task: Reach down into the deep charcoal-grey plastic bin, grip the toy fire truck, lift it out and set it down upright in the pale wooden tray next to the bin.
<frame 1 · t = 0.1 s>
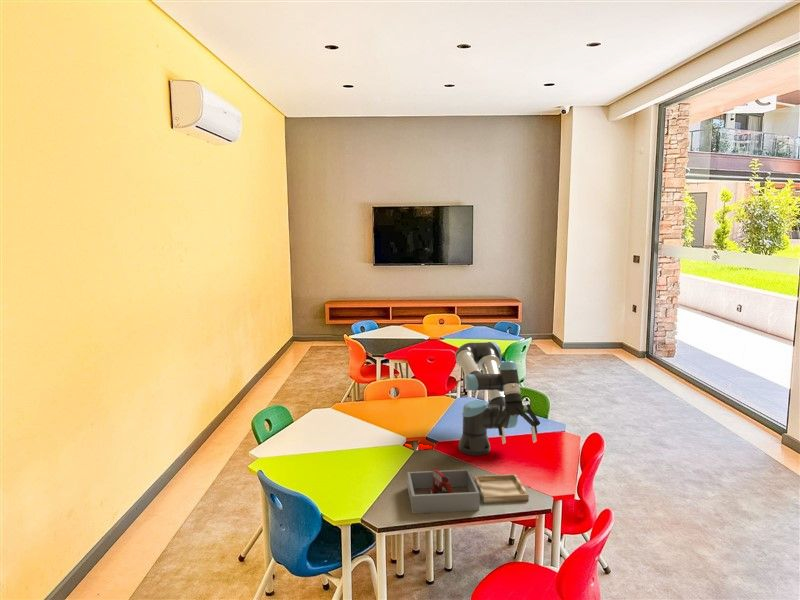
hand: (519, 442, 238), 15 cm above the table, tool tilted 35°, fingers open, 13 cm apart
bin: (441, 498, 221), on the table
toy fire truck: (441, 499, 221), resting in bin
tray: (500, 490, 227), on the table
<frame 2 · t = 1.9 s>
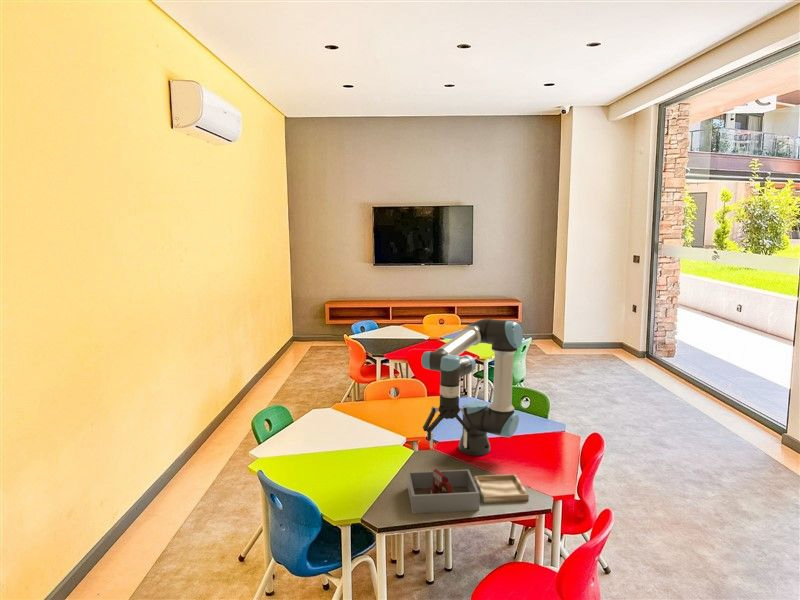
hand: (448, 447, 218), 22 cm above the table, tool pointing down, fingers open, 13 cm apart
nothing on the table moved.
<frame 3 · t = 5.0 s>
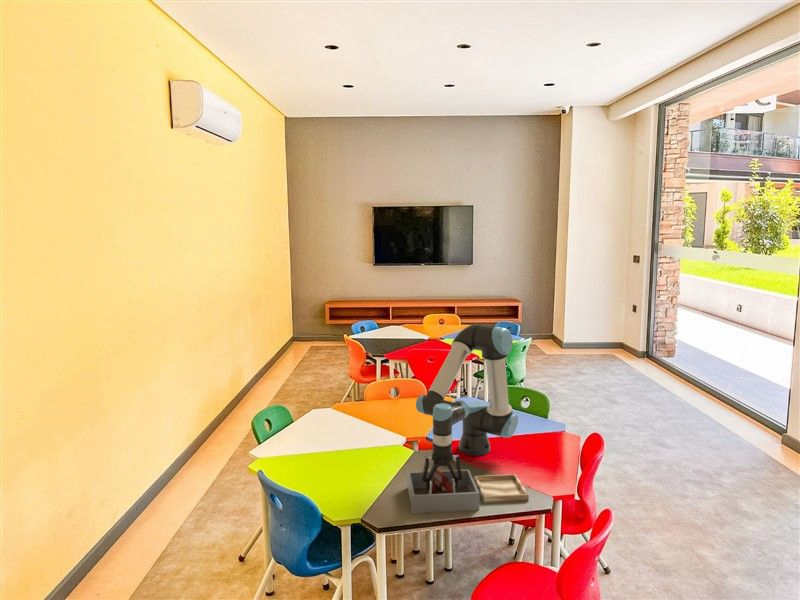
hand: (441, 496, 221), 1 cm above the table, tool pointing down, fingers closed on toy fire truck, 9 cm apart
toy fire truck: (441, 499, 221), resting in bin, touching gripper
when the fingers open (4 cm above the table, at t = 11.0 s): toy fire truck drops 2 cm, resting on tray.
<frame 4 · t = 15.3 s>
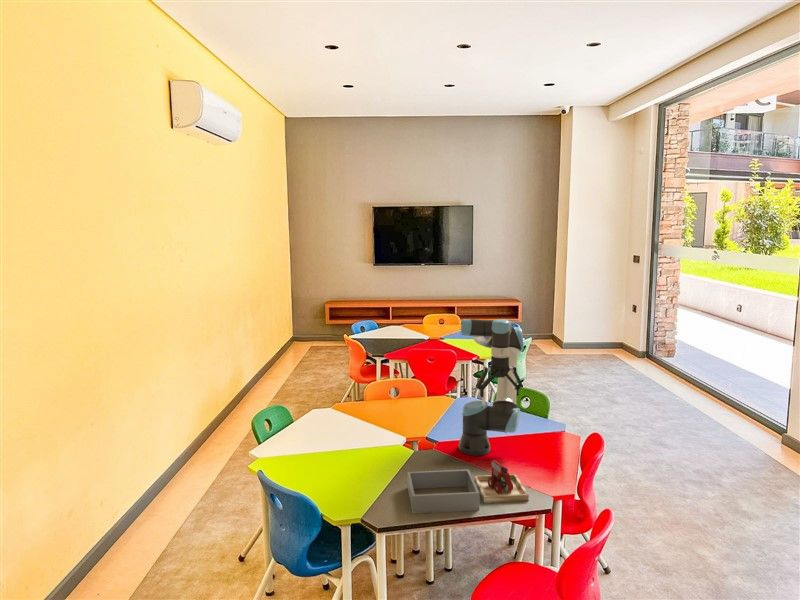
hand: (499, 403, 238), 32 cm above the table, tool pointing down, fingers open, 13 cm apart
toy fire truck: (500, 489, 227), point 1 cm above the table, touching tray
at the end: toy fire truck inside the target area on the tray (0.0 cm from its centre), point 0.6 cm above the tray's base; toy fire truck tilted 0°; the gripper is holding nothing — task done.
